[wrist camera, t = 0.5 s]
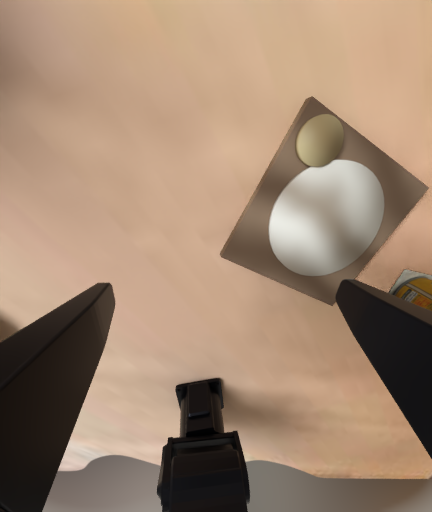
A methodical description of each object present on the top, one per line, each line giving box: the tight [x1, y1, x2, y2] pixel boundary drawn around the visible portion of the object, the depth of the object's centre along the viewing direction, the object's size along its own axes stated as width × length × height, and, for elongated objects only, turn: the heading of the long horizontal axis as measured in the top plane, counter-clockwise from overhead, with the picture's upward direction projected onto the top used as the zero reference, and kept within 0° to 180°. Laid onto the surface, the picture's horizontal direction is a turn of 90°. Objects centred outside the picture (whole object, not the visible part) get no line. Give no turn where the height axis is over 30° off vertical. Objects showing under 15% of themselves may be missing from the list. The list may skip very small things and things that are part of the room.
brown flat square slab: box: [220, 96, 429, 306], centre depth 23 cm, size 16×16×2 cm
